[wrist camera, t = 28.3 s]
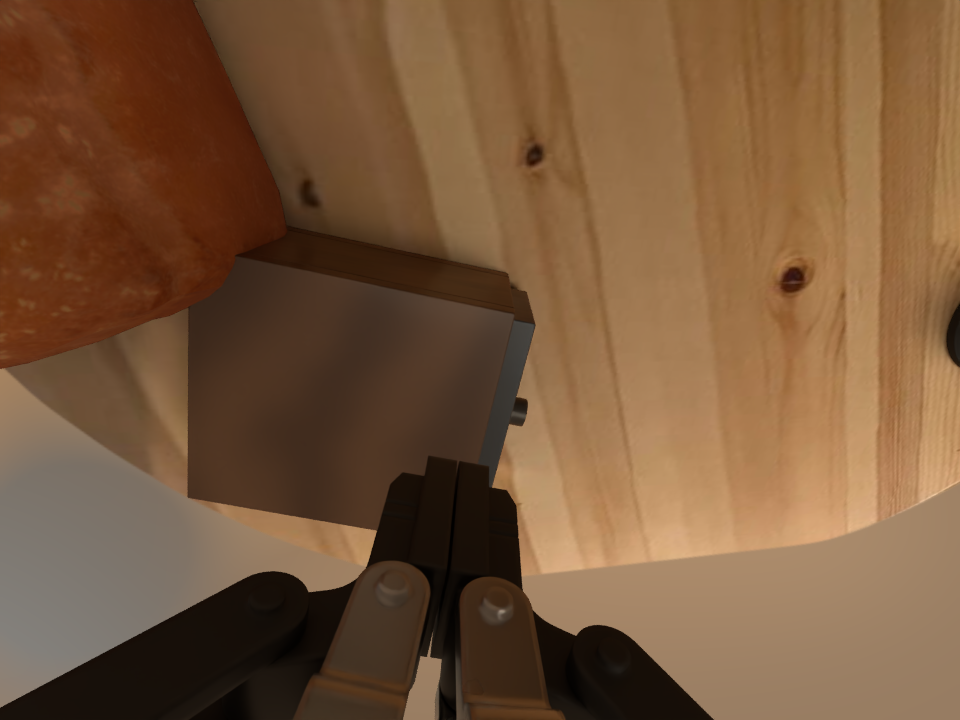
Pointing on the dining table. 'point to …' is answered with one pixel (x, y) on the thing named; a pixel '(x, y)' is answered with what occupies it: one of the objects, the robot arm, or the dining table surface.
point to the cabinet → (339, 374)
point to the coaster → (954, 337)
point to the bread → (118, 171)
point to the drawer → (509, 385)
